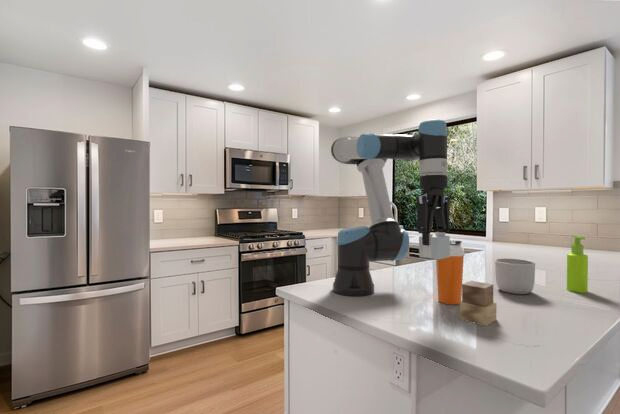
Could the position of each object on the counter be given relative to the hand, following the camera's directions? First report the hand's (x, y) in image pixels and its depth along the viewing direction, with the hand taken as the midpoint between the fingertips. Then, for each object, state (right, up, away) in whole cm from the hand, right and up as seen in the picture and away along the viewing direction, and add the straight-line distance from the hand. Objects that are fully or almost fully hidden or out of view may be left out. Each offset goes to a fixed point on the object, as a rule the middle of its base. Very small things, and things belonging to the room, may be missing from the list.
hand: (434, 255), depth 95 cm
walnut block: (+11, -13, -3) cm, 17 cm away
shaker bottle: (+10, -17, +13) cm, 24 cm away
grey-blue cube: (0, 0, 0) cm, 1 cm away
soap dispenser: (+61, -17, +25) cm, 68 cm away
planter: (+38, -17, +25) cm, 49 cm away
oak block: (+11, -18, -3) cm, 21 cm away
